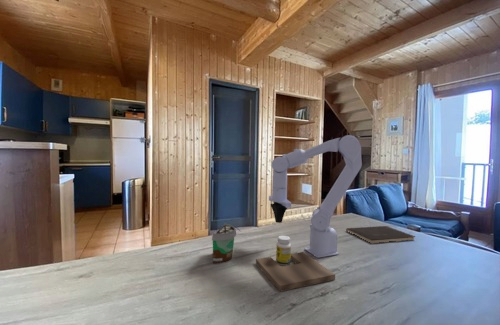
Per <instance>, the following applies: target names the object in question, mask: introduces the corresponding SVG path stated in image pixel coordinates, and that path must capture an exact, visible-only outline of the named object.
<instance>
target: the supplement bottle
mask: <svg viewBox="0 0 500 325" xmlns="http://www.w3.org/2000/svg"><path fill="white" fill-rule="evenodd" d="M291 254H292V244H291V237H289V236H288V235H279V236H278V237H277V242H276V253H275V261H276V262H277V263H278V264H279V265H280V266H281V267H282V266H287V265H291V261H292V260H291Z"/></svg>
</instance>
